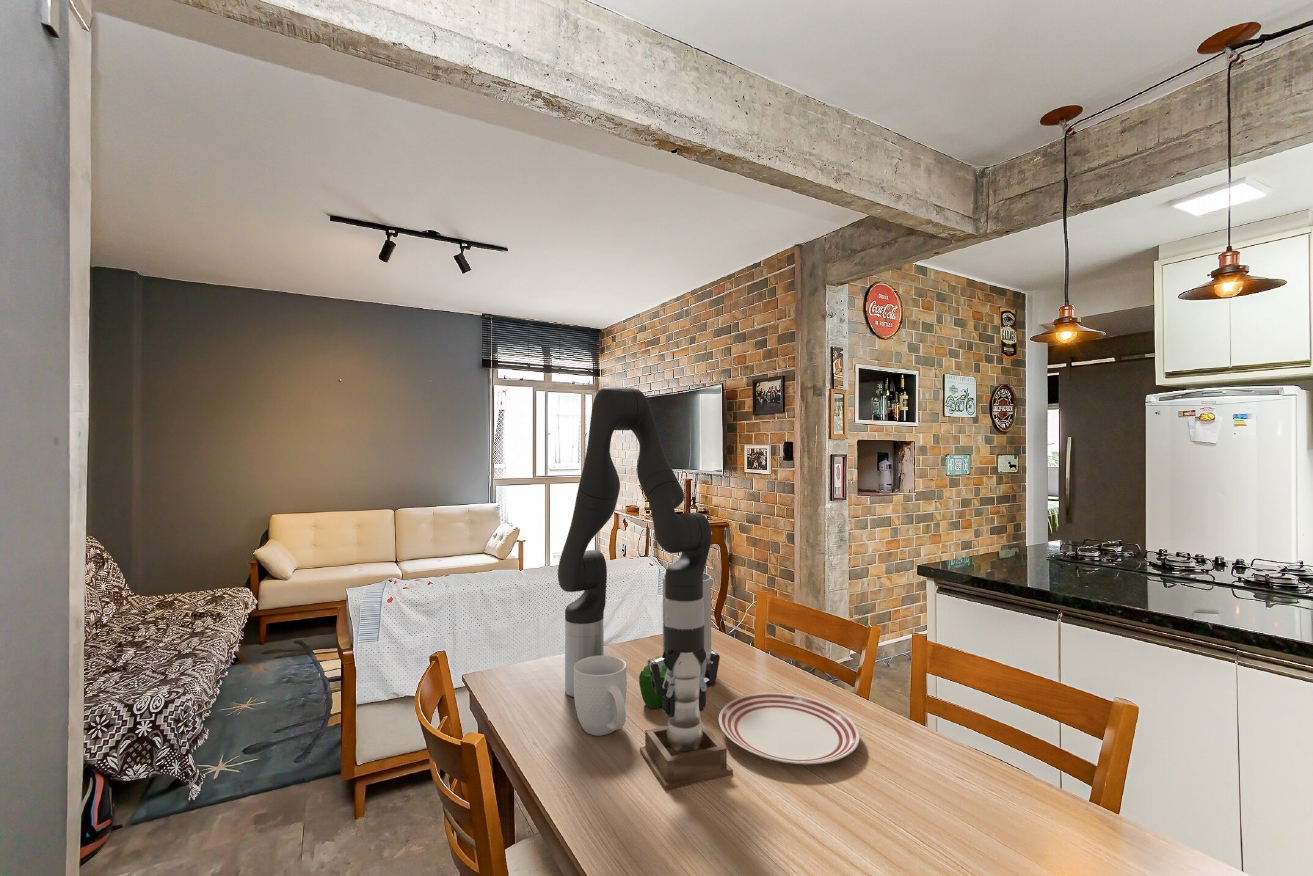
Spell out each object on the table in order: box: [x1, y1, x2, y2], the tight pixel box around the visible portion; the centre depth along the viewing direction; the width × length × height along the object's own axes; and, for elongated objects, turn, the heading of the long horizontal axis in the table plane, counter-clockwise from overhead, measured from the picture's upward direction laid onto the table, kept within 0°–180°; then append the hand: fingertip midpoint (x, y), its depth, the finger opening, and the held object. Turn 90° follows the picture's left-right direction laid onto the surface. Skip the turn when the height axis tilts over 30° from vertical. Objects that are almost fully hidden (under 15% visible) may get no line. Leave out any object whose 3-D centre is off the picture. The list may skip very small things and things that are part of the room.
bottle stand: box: [639, 721, 734, 791], centre depth 104 cm, size 13×13×4 cm
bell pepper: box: [638, 655, 667, 709], centre depth 128 cm, size 8×8×10 cm
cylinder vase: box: [662, 572, 712, 677], centre depth 145 cm, size 12×12×25 cm
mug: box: [573, 655, 628, 737], centre depth 115 cm, size 15×11×13 cm
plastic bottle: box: [666, 652, 703, 752], centre depth 104 cm, size 6×7×20 cm
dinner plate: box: [718, 692, 860, 765], centre depth 113 cm, size 28×27×3 cm
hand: (684, 712), depth 104 cm, fingers closed on plastic bottle, 5 cm apart
